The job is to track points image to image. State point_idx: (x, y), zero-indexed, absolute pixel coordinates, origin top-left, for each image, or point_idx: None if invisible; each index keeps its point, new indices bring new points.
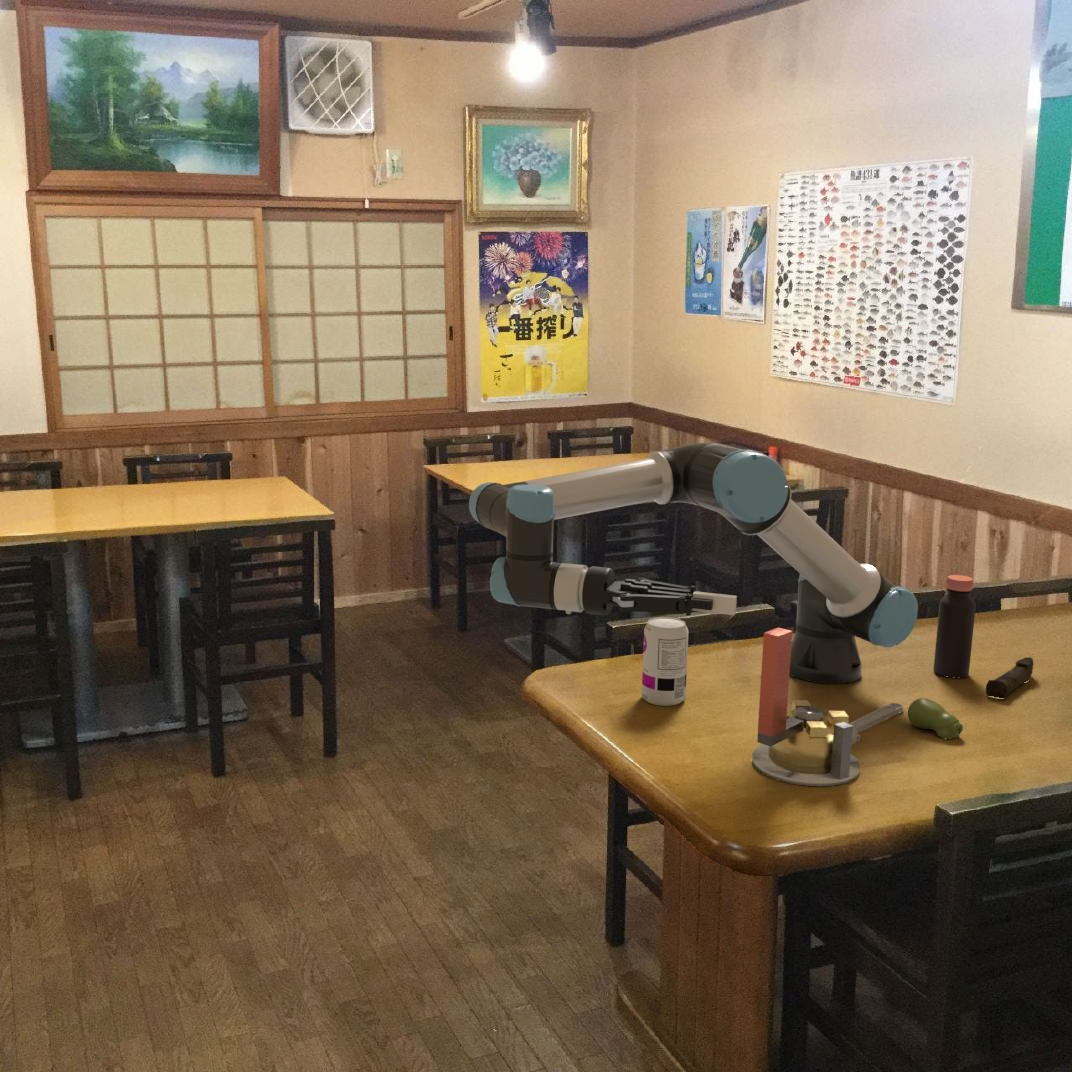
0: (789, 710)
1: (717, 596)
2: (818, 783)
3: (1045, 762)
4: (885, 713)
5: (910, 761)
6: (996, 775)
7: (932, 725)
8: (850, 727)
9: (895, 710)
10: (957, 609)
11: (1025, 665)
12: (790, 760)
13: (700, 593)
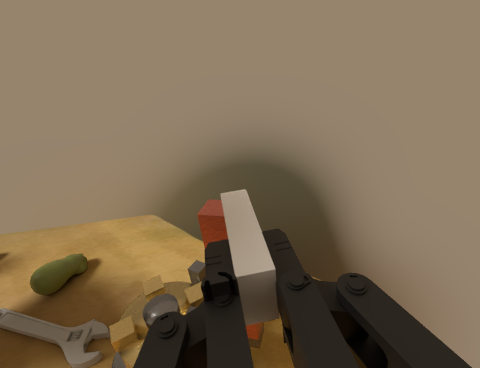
0: (121, 352)
1: (254, 214)
2: None
3: (125, 223)
4: (19, 318)
5: (140, 277)
6: (154, 235)
7: (73, 271)
8: (199, 261)
9: (13, 311)
10: None
11: None
12: None
13: (255, 252)
